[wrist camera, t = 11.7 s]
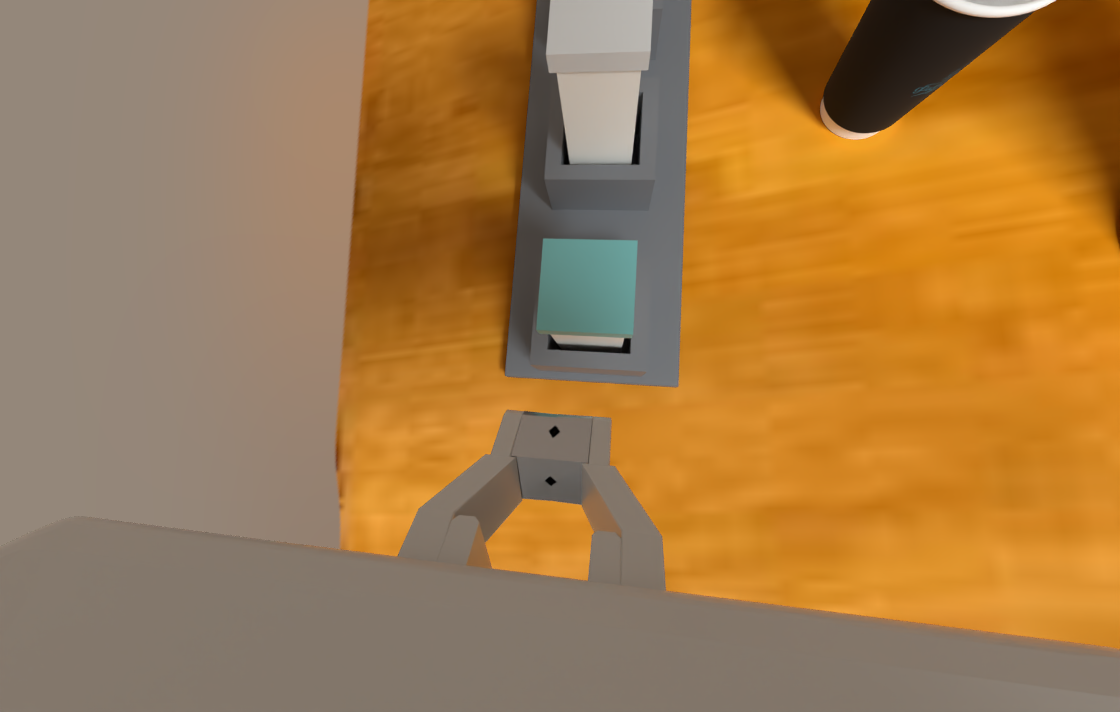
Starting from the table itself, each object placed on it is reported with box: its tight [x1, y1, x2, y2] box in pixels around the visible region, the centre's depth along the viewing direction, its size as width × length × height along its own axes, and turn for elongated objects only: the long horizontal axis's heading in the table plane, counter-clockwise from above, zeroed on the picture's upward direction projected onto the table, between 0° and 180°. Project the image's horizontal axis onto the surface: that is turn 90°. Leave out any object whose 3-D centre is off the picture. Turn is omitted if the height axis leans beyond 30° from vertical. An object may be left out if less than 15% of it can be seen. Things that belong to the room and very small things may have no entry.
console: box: [505, 0, 691, 387], centre depth 28 cm, size 12×32×5 cm, turn 176°
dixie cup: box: [820, 0, 1056, 139], centre depth 24 cm, size 8×8×11 cm
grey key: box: [546, 0, 653, 165], centre depth 23 cm, size 5×5×9 cm
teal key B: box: [536, 239, 638, 353], centre depth 24 cm, size 5×5×9 cm
